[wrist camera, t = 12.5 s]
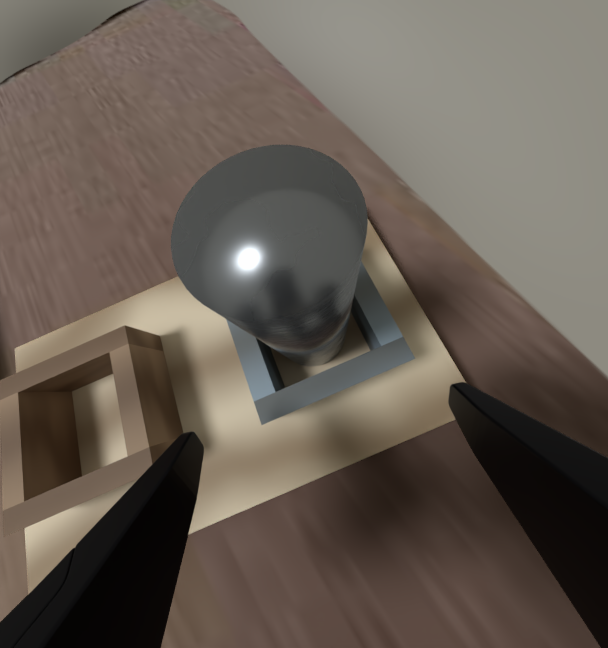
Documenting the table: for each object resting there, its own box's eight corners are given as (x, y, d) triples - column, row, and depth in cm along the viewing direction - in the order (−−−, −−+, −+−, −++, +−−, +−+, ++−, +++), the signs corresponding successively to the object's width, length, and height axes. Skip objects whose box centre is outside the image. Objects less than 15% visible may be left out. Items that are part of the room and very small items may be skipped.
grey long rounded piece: (344, 368, 15) (367, 325, 5) (275, 364, 16) (152, 316, 5) (346, 301, 16) (368, 139, 6) (281, 299, 17) (190, 149, 6)
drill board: (467, 406, 15) (520, 413, 11) (57, 582, 15) (-52, 659, 11) (353, 211, 20) (359, 161, 15) (37, 351, 20) (-45, 341, 15)
